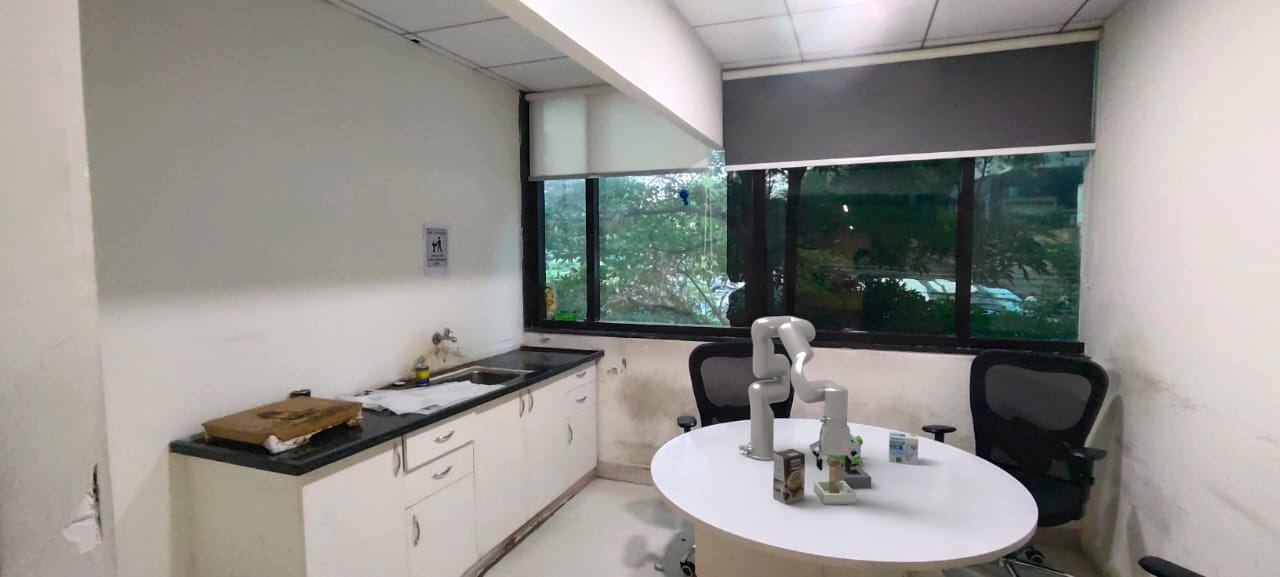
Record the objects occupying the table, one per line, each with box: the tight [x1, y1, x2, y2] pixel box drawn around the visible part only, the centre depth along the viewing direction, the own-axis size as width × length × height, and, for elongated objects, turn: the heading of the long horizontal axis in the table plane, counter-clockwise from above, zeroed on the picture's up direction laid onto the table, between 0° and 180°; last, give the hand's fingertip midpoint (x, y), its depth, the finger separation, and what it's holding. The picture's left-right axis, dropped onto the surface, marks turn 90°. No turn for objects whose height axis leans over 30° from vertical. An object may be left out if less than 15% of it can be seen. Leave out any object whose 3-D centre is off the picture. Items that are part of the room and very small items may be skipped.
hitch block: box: [840, 465, 872, 489], centre depth 203 cm, size 10×10×4 cm
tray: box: [813, 480, 858, 506], centre depth 191 cm, size 11×11×4 cm
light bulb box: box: [888, 431, 919, 466], centre depth 223 cm, size 11×7×11 cm, turn 68°
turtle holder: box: [826, 433, 864, 467], centre depth 222 cm, size 12×18×12 cm
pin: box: [827, 460, 842, 493], centre depth 190 cm, size 4×4×12 cm
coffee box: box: [772, 448, 806, 505], centre depth 190 cm, size 9×6×16 cm
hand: (833, 469), depth 191 cm, fingers open, 9 cm apart
